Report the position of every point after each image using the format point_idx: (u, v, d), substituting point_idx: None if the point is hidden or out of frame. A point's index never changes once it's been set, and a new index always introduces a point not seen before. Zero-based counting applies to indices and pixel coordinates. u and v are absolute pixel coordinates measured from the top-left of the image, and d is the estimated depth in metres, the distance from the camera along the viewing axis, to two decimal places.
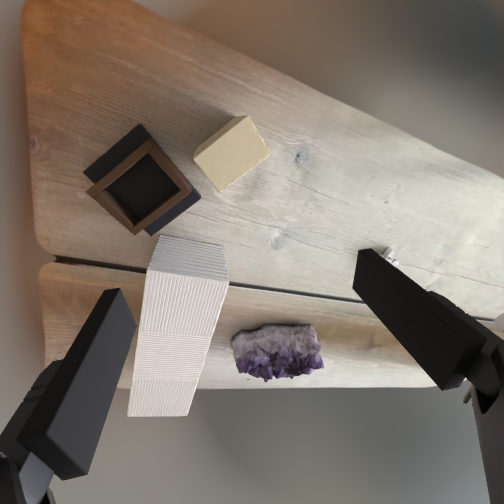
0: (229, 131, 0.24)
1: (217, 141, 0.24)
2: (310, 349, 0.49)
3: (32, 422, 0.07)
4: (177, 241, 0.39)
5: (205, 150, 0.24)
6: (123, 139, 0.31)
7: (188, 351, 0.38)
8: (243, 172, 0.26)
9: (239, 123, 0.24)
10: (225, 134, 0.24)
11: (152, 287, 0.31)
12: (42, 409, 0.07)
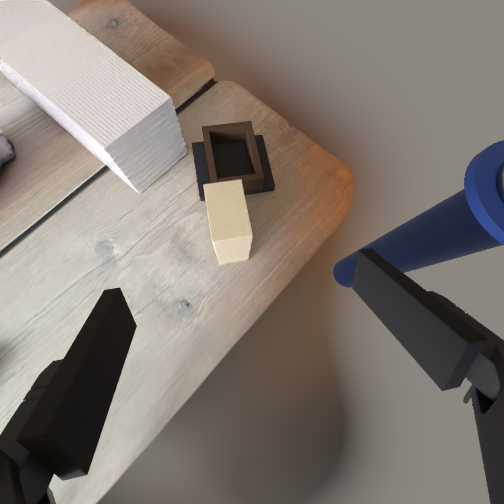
0: (247, 215, 0.26)
1: (245, 203, 0.27)
2: None
3: (32, 422, 0.07)
4: (173, 158, 0.39)
5: (242, 191, 0.27)
6: (270, 170, 0.39)
7: (48, 69, 0.30)
8: (209, 211, 0.26)
9: (250, 226, 0.26)
10: (247, 211, 0.27)
11: (150, 89, 0.31)
12: (42, 409, 0.07)
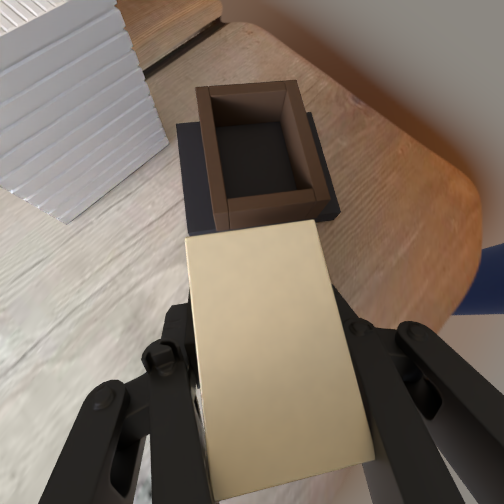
0: (349, 364, 0.07)
1: (334, 311, 0.07)
2: None
3: (190, 335, 0.09)
4: (138, 152, 0.19)
5: (323, 263, 0.08)
6: (330, 181, 0.20)
7: None
8: (203, 350, 0.07)
9: (362, 413, 0.07)
10: (344, 346, 0.07)
11: None
12: (192, 328, 0.09)
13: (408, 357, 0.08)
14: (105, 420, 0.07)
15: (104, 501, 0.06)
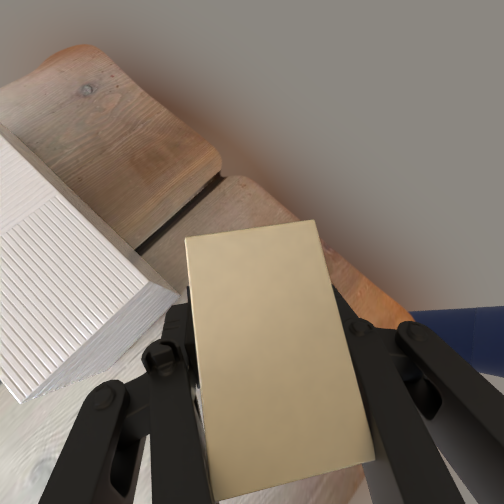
0: (349, 364, 0.07)
1: (334, 311, 0.07)
2: None
3: (190, 335, 0.09)
4: (159, 313, 0.26)
5: (323, 263, 0.08)
6: None
7: None
8: (203, 350, 0.07)
9: (362, 413, 0.07)
10: (344, 346, 0.07)
11: (115, 266, 0.18)
12: (192, 328, 0.09)
13: (408, 357, 0.08)
14: (105, 420, 0.07)
15: (104, 501, 0.06)
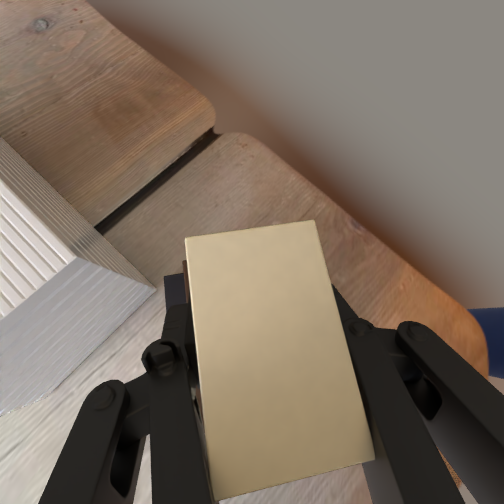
0: (349, 364, 0.07)
1: (334, 311, 0.07)
2: None
3: (190, 335, 0.09)
4: (123, 314, 0.18)
5: (323, 263, 0.08)
6: None
7: None
8: (203, 350, 0.07)
9: (361, 413, 0.07)
10: (344, 346, 0.07)
11: (15, 230, 0.10)
12: (192, 328, 0.09)
13: (408, 357, 0.08)
14: (105, 420, 0.07)
15: (104, 501, 0.06)
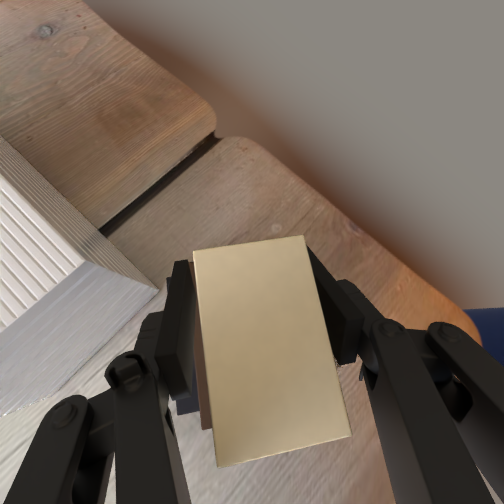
0: (331, 358, 0.08)
1: (319, 313, 0.09)
2: None
3: (161, 346, 0.09)
4: (126, 315, 0.19)
5: (310, 272, 0.09)
6: None
7: None
8: (209, 345, 0.08)
9: (340, 398, 0.08)
10: (327, 343, 0.08)
11: (27, 235, 0.11)
12: (165, 339, 0.09)
13: (441, 358, 0.08)
14: (65, 438, 0.06)
15: None
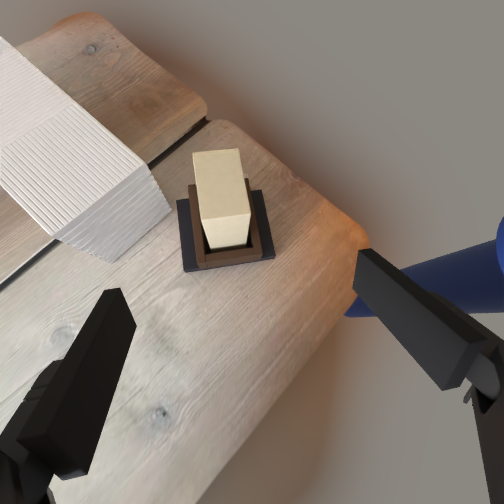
0: (245, 190, 0.22)
1: (242, 175, 0.22)
2: None
3: (32, 422, 0.07)
4: (153, 219, 0.32)
5: (239, 161, 0.23)
6: (270, 236, 0.32)
7: None
8: (198, 184, 0.22)
9: (247, 202, 0.21)
10: (244, 185, 0.22)
11: (119, 152, 0.24)
12: (42, 409, 0.07)
13: None
14: None
15: None
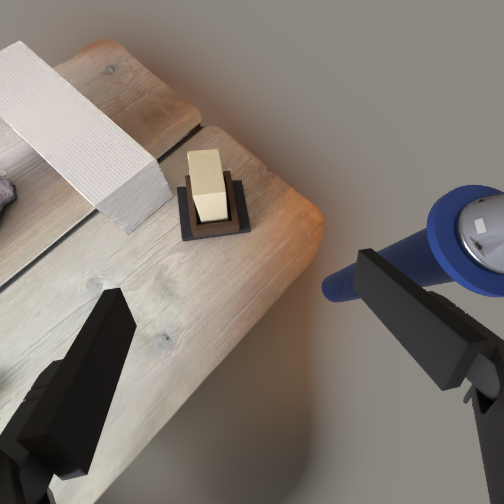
0: (222, 176, 0.33)
1: (220, 167, 0.33)
2: None
3: (32, 422, 0.07)
4: (159, 201, 0.43)
5: (219, 157, 0.33)
6: (247, 214, 0.43)
7: (47, 131, 0.35)
8: (191, 172, 0.32)
9: (223, 184, 0.32)
10: (222, 173, 0.33)
11: (137, 151, 0.35)
12: (42, 409, 0.07)
13: None
14: None
15: None
